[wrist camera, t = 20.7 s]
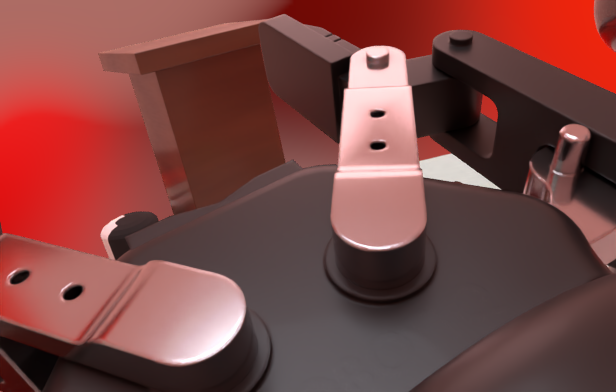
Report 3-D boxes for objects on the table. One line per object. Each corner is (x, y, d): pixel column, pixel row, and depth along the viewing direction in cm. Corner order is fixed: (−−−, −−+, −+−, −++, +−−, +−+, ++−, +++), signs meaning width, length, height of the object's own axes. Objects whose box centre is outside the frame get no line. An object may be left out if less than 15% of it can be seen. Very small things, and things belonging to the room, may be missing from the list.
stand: (344, 341, 53) (281, 17, 40) (244, 406, 47) (134, 53, 34) (291, 303, 60) (224, 23, 48) (200, 355, 55) (97, 53, 42)
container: (195, 288, 68) (166, 200, 62) (185, 325, 60) (152, 228, 55) (138, 299, 68) (105, 212, 63) (121, 336, 61) (82, 241, 56)
